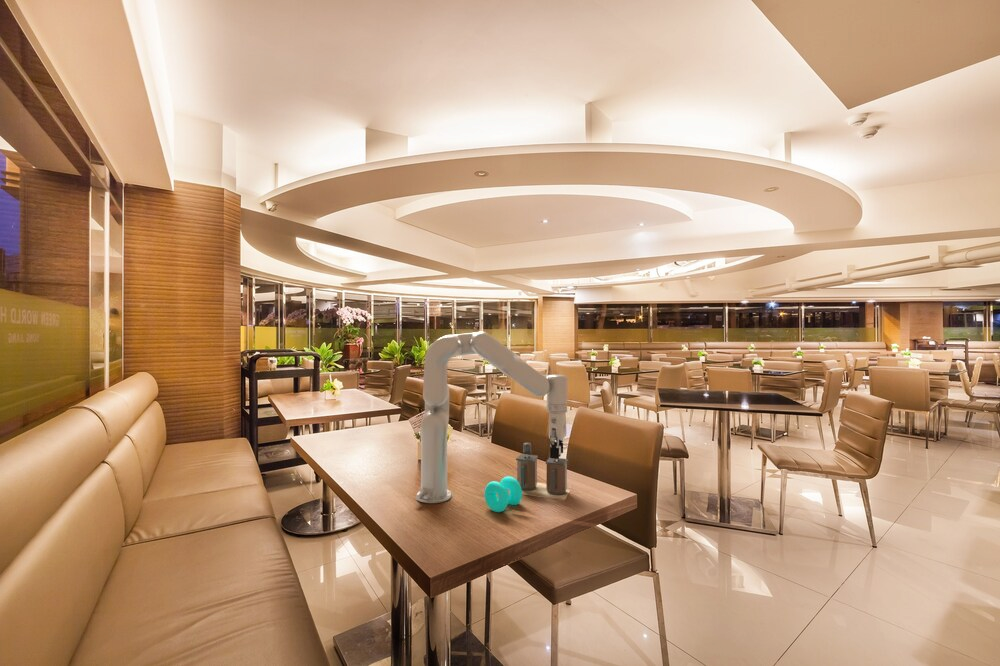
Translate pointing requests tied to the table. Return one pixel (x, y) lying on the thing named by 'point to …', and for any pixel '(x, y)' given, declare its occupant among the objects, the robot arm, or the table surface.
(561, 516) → the table surface
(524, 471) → the far press
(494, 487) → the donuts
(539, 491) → the serving board
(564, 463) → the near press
